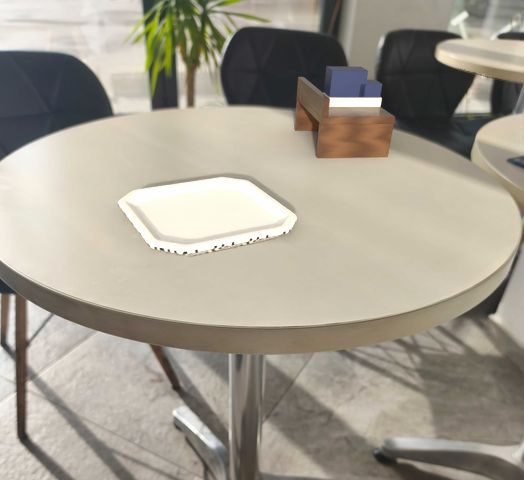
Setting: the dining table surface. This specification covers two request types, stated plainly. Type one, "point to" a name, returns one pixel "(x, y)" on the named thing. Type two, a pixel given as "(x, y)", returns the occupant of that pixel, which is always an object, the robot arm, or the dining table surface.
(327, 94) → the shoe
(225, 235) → the plate
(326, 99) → the shoe shelf
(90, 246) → the dining table surface
